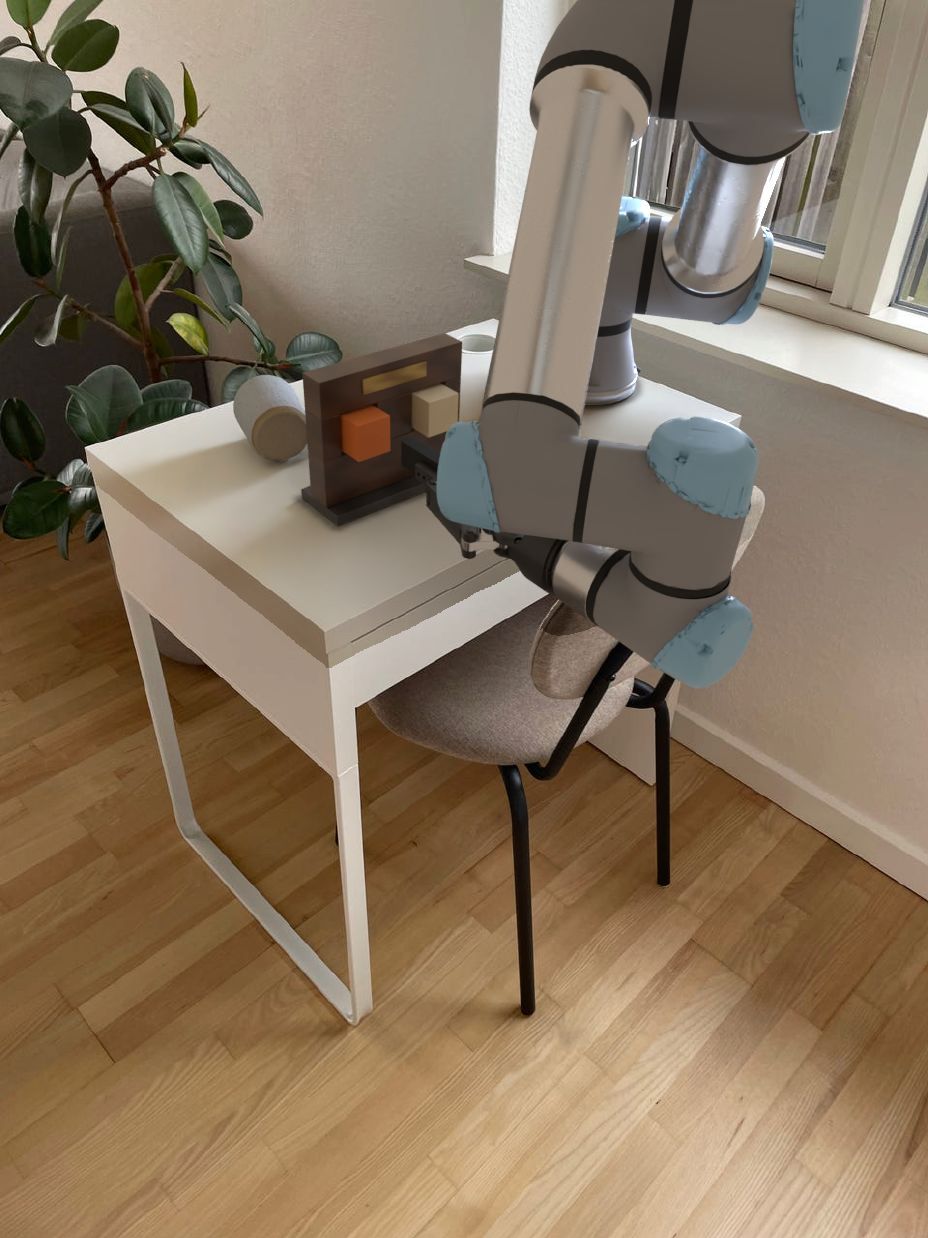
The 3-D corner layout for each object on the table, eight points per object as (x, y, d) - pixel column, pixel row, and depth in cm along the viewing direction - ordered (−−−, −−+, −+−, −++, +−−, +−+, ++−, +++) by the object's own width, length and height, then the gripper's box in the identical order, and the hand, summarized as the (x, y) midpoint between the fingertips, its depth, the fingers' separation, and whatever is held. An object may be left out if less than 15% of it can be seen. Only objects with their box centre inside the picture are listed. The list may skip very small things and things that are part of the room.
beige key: (434, 414, 103) (435, 379, 101) (457, 427, 101) (458, 393, 98) (405, 423, 101) (405, 389, 98) (428, 437, 99) (429, 402, 96)
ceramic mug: (254, 470, 106) (248, 407, 101) (235, 438, 111) (229, 377, 107) (342, 455, 110) (341, 394, 105) (320, 425, 115) (318, 366, 110)
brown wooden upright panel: (430, 451, 111) (433, 326, 101) (468, 475, 107) (474, 347, 97) (301, 498, 101) (290, 365, 92) (337, 526, 97) (330, 390, 88)
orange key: (367, 436, 98) (366, 401, 96) (390, 451, 96) (390, 415, 94) (336, 446, 96) (334, 411, 94) (358, 462, 94) (357, 426, 91)
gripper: (519, 624, 77) (354, 504, 91) (624, 569, 84) (456, 465, 98) (526, 549, 72) (351, 434, 86) (637, 497, 79) (459, 399, 93)
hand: (407, 451), depth 92 cm, fingers closed
